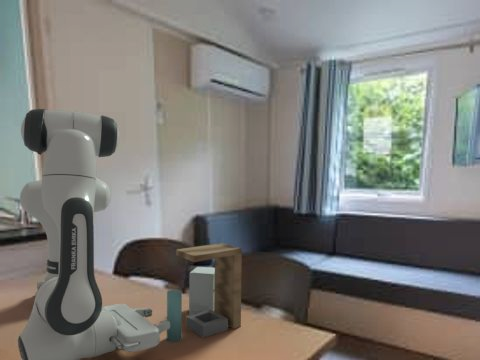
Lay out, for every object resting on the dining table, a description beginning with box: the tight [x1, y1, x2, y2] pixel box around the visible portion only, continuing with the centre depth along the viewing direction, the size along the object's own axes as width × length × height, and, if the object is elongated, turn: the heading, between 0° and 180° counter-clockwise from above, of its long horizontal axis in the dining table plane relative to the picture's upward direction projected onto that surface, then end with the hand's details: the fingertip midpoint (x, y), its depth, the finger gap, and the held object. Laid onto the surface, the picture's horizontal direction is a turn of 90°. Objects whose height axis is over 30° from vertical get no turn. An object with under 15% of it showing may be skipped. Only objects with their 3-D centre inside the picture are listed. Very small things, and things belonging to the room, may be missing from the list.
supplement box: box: [188, 266, 215, 316], centre depth 115 cm, size 7×7×13 cm
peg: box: [166, 289, 183, 343], centre depth 97 cm, size 4×4×12 cm
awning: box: [175, 242, 243, 330], centre depth 103 cm, size 9×15×22 cm, turn 129°
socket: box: [186, 310, 229, 339], centre depth 103 cm, size 8×8×3 cm
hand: (159, 317), depth 94 cm, fingers open, 8 cm apart
